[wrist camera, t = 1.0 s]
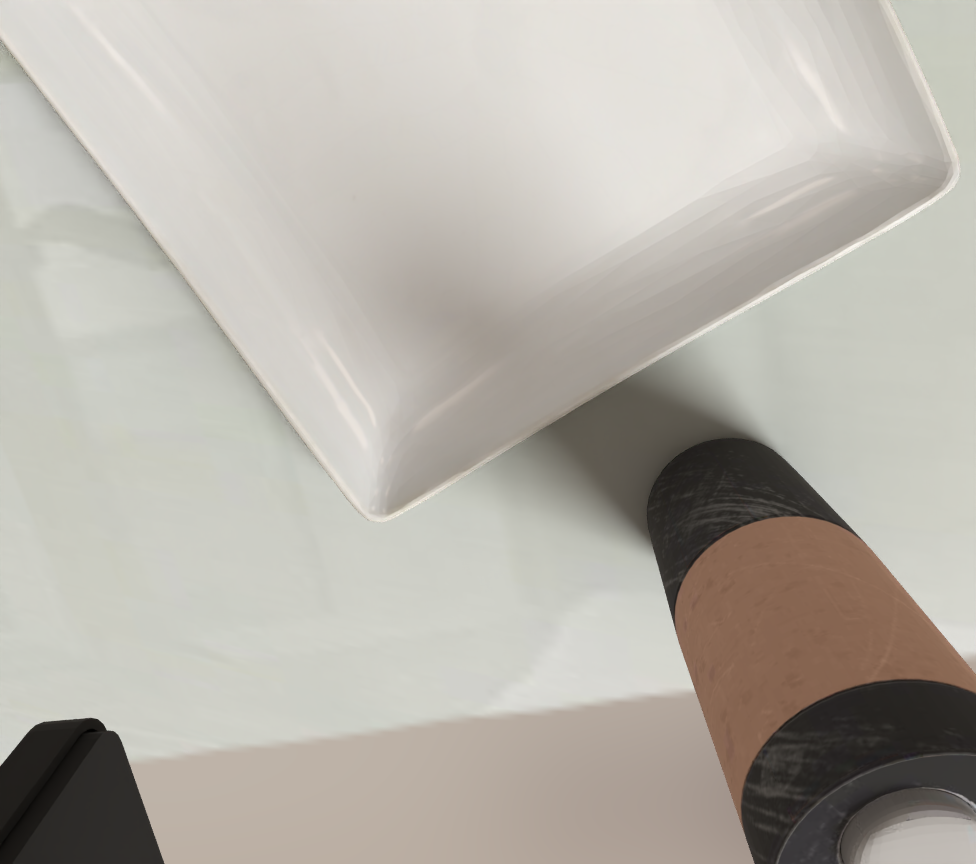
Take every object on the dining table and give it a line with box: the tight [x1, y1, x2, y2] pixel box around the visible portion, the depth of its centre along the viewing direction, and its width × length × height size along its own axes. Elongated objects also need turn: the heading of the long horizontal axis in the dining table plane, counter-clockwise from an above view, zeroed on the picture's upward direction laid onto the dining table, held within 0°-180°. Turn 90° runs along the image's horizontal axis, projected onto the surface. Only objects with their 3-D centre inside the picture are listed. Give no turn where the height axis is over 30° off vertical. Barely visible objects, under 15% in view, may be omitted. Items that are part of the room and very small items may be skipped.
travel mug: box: [647, 438, 976, 864], centre depth 28 cm, size 8×8×20 cm
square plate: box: [0, 0, 960, 522], centre depth 30 cm, size 27×27×4 cm
